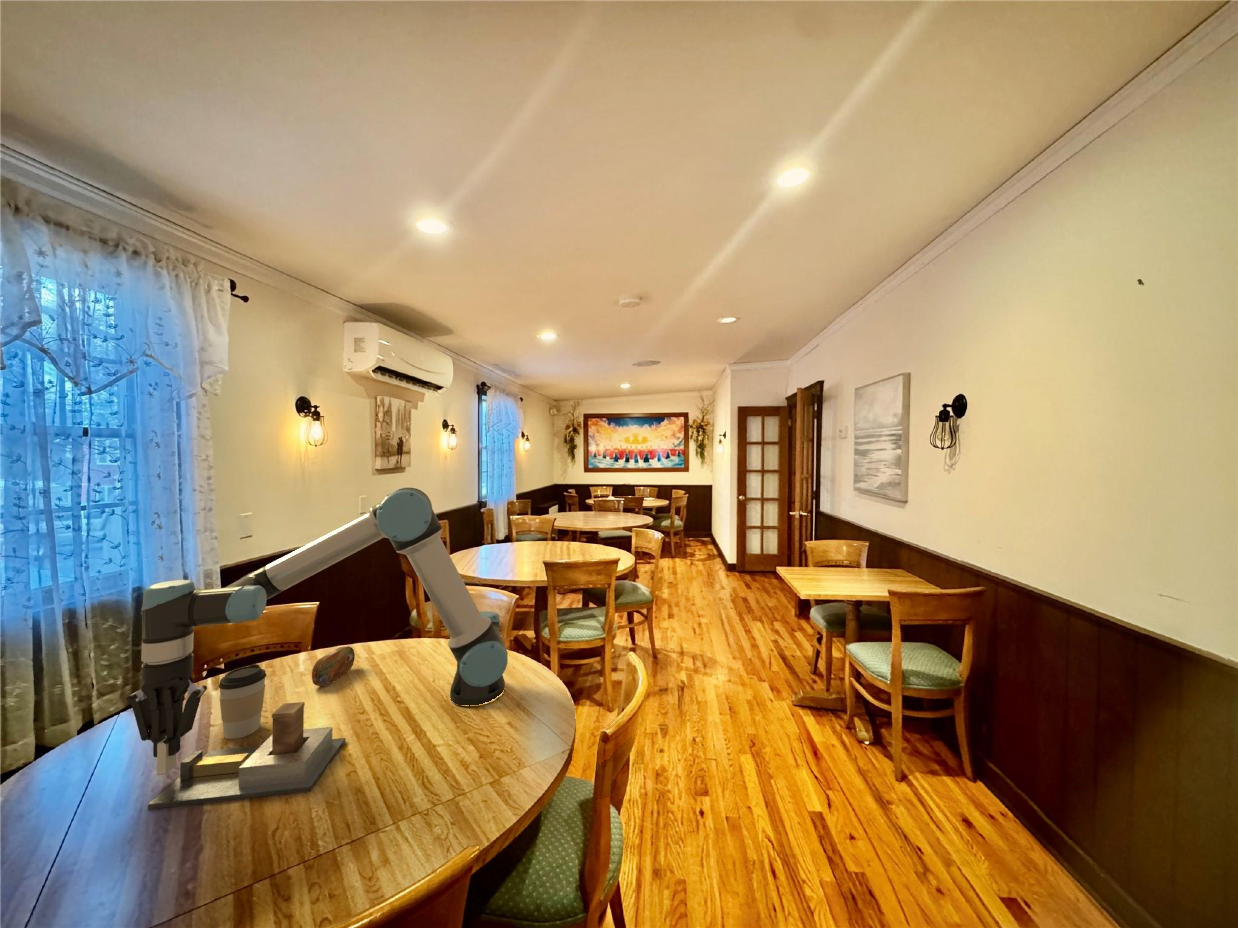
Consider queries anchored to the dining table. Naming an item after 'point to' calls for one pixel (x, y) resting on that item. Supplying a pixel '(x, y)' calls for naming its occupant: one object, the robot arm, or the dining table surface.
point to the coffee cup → (242, 700)
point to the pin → (210, 765)
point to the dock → (258, 773)
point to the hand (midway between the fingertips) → (166, 770)
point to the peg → (288, 728)
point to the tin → (333, 666)
